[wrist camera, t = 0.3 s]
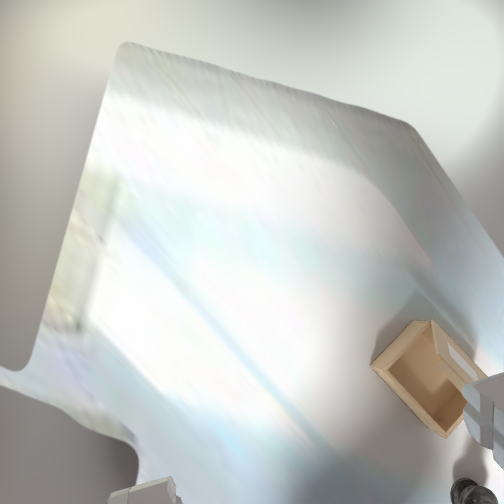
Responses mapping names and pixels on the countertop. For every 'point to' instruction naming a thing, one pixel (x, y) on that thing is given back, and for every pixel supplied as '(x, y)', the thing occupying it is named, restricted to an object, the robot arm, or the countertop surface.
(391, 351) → the mailer box
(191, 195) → the countertop surface
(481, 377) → the lid
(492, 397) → the robot arm
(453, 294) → the countertop surface
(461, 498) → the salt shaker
